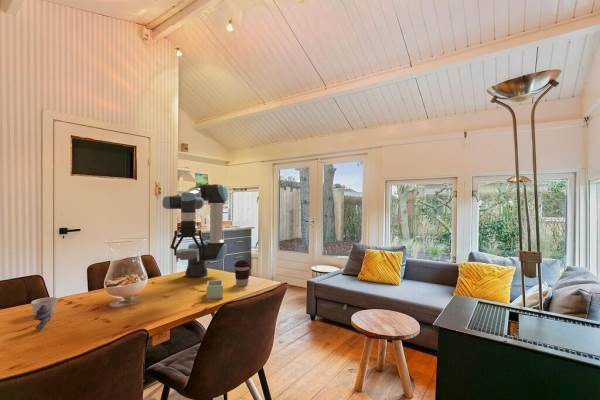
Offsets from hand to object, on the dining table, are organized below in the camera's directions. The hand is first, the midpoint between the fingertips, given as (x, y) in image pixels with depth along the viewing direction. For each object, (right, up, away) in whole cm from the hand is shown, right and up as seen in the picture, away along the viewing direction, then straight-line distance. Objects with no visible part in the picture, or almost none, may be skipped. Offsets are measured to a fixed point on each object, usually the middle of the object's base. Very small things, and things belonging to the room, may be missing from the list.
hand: (187, 261), depth 161 cm
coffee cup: (+25, -20, +25) cm, 41 cm away
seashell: (-42, -19, -42) cm, 63 cm away
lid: (0, +2, 0) cm, 2 cm away
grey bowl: (-56, -19, -26) cm, 65 cm away
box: (+14, -20, +2) cm, 24 cm away
